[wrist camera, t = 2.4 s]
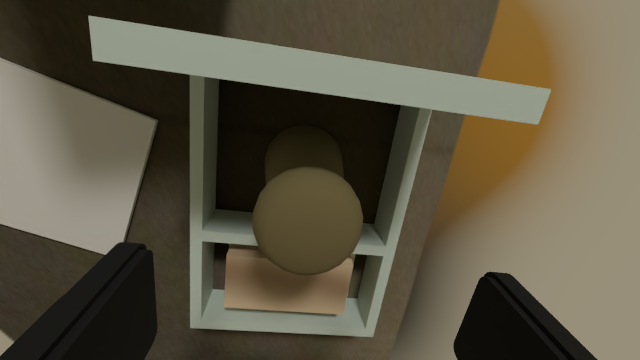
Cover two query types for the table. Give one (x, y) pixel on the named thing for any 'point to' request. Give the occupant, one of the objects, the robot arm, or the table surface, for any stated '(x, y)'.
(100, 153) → the mat
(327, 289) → the offcut upper
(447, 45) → the table surface
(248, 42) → the rack
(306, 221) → the cork
